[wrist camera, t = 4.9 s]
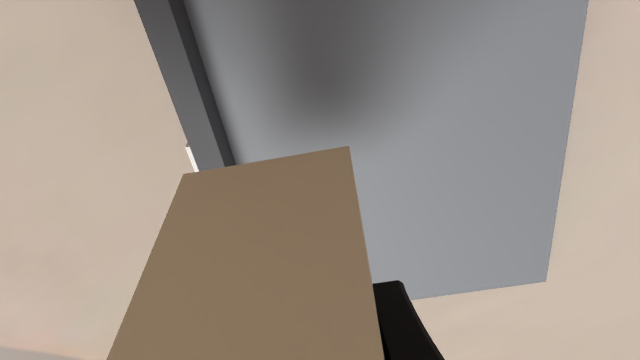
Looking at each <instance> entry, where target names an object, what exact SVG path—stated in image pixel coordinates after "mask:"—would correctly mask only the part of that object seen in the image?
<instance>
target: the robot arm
mask: <svg viewBox="0 0 640 360" xmlns="http://www.w3.org/2000/svg"><path fill="white" fill-rule="evenodd" d="M372 285H373V292H374V298H375V304H376V310H377V316H378V322H379V328H380V334H381V340H382V346H383V351H384V357H385V360H445V359H444V358H443V356H442V355H441V353H440V352H439V350H438V348H437V347H436V345H435V344H434V342H433V341H432V339H431V337H430V336H429V334H428V332H427V331H426V329H425V327H424V325H423V324H422V322H421V320H420V318H419V317H418V315H417V313H416V311H415V309H414V307H413V305H412V303H411V301H410V299H409V296H408V294H407V292H406V290H405V287H404V284H403V283H402V282H401V281H399V280H395V281H388V282H381V283H373V284H372Z"/></svg>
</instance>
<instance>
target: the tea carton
mask: <svg viewBox="0 0 640 360" xmlns="http://www.w3.org/2000/svg"><path fill="white" fill-rule="evenodd" d="M372 284H373V283H372V277H371V271H370V266H369V260H368V254H367V248H366V242H365V236H364V230H363V224H362V219H361V213H360V207H359V201H358V195H357V189H356V183H355V177H354V171H353V166H352V160H351V154H350V148H349V146H344V147H338V148H332V149H327V150H321V151H315V152H309V153H303V154H298V155H292V156H286V157H280V158H274V159H269V160H263V161H257V162H251V163H246V164H240V165H234V166H228V167H222V168H217V169H211V170H205V171H199V172H194V173H188V174H183V177H182V179H181V182H180V184H179V186H178V189H177V191H176V194H175V196H174V198H173V201H172V203H171V206H170V208H169V210H168V213H167V215H166V218H165V220H164V223H163V225H162V227H161V230H160V232H159V235H158V237H157V239H156V242H155V244H154V247H153V249H152V251H151V254H150V256H149V259H148V261H147V264H146V266H145V268H144V271H143V273H142V276H141V278H140V280H139V283H138V285H137V288H136V290H135V292H134V295H133V297H132V300H131V302H130V305H129V307H128V309H127V312H126V314H125V317H124V319H123V321H122V324H121V326H120V329H119V331H118V333H117V336H116V338H115V341H114V343H113V346H112V348H111V350H110V353H109V355H108V358H107V360H385V357H384V351H383V346H382V340H381V334H380V328H379V322H378V316H377V310H376V304H375V298H374V292H373V285H372Z"/></svg>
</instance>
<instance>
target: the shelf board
mask: <svg viewBox="0 0 640 360" xmlns="http://www.w3.org/2000/svg"><path fill="white" fill-rule="evenodd" d="M588 1H589V0H134V2H135V4H136V7H137V10H138V12H139V15H140V17H141V20H142V23H143V25H144V28H145V31H146V33H147V36H148V39H149V41H150V44H151V46H152V49H153V52H154V54H155V57H156V60H157V62H158V65H159V67H160V70H161V73H162V75H163V78H164V81H165V83H166V86H167V88H168V91H169V94H170V96H171V99H172V102H173V104H174V107H175V110H176V112H177V115H178V117H179V120H180V123H181V125H182V128H183V131H184V133H185V136H186V138H187V141H188V143H187V145H186V147H185V148H186V150H187V153H188V155H189V158H190V161H191V163H192V166H193V168H194V171H195V172H199V171H205V170H211V169H217V168H222V167H228V166H234V165H240V164H246V163H251V162H257V161H263V160H269V159H274V158H280V157H286V156H292V155H298V154H303V153H309V152H315V151H321V150H327V149H332V148H338V147H344V146H349V148H350V154H351V160H352V166H353V171H354V177H355V183H356V189H357V195H358V201H359V207H360V213H361V219H362V224H363V230H364V236H365V242H366V248H367V254H368V260H369V266H370V271H371V277H372V283H381V282H388V281H395V280H399V281H401V282H402V283H403V284H404V287H405V290H406V292H407V294H408V296H409V299H410V300H415V299H422V298H430V297H437V296H444V295H451V294H459V293H466V292H473V291H481V290H488V289H495V288H502V287H510V286H517V285H524V284H532V283H539V282H546V278H547V271H548V265H549V258H550V251H551V245H552V238H553V232H554V225H555V219H556V212H557V205H558V199H559V192H560V186H561V179H562V172H563V166H564V159H565V153H566V146H567V140H568V133H569V126H570V120H571V113H572V107H573V100H574V93H575V87H576V80H577V74H578V67H579V61H580V54H581V47H582V41H583V34H584V28H585V21H586V14H587V8H588Z"/></svg>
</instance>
